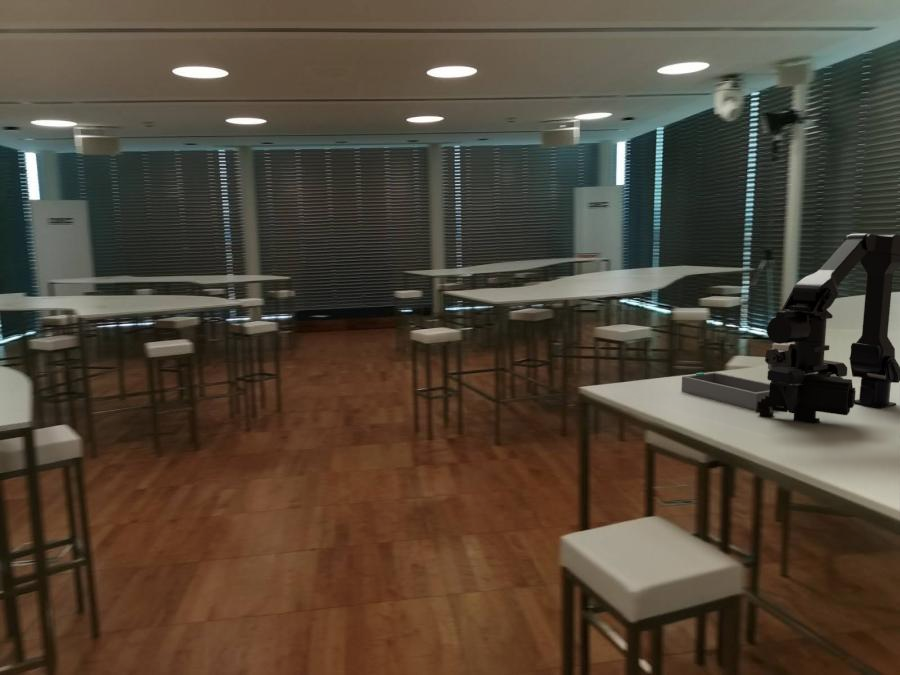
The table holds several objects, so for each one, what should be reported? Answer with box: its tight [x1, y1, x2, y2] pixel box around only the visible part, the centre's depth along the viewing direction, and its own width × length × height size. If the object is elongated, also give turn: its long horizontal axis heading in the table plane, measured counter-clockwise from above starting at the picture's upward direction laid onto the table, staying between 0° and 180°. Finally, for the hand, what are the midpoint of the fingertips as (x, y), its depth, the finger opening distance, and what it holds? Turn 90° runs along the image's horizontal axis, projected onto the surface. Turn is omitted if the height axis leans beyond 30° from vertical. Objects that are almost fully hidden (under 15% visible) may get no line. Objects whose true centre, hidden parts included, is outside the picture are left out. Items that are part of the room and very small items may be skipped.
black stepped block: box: [755, 376, 856, 424], centre depth 137 cm, size 7×18×10 cm, turn 50°
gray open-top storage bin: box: [681, 372, 770, 411], centre depth 159 cm, size 12×23×4 cm, turn 26°
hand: (805, 410), depth 137 cm, fingers open, 9 cm apart
